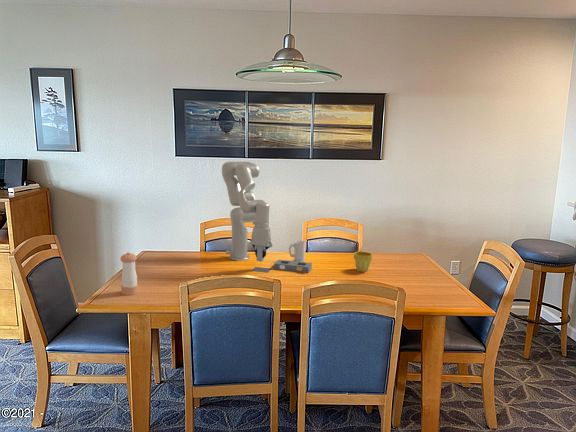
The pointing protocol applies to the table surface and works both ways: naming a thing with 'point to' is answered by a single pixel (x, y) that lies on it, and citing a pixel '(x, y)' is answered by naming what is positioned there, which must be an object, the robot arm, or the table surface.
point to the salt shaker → (129, 274)
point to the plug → (259, 253)
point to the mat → (261, 269)
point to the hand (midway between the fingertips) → (260, 256)
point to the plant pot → (362, 260)
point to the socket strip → (293, 266)
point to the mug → (298, 251)
